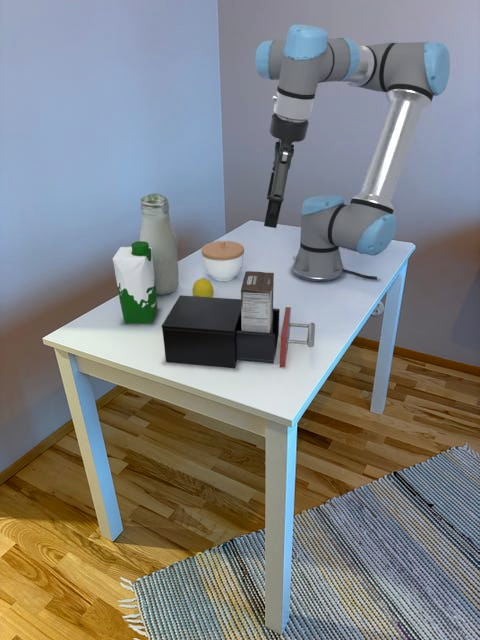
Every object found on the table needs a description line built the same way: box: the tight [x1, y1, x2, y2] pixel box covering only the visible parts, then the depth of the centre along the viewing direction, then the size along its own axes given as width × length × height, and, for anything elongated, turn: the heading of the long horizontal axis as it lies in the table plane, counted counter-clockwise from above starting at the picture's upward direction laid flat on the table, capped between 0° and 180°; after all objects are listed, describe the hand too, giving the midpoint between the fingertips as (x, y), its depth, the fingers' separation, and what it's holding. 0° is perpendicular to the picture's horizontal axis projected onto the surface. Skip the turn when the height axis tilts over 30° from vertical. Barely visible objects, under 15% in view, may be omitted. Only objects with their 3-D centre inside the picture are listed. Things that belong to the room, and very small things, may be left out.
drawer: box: [235, 306, 316, 369], centre depth 103 cm, size 20×13×8 cm, turn 81°
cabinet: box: [161, 294, 241, 369], centre depth 105 cm, size 16×14×10 cm
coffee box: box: [240, 270, 275, 333], centre depth 101 cm, size 9×6×16 cm
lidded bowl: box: [200, 240, 245, 282], centre depth 139 cm, size 13×13×11 cm
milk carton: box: [112, 240, 158, 324], centre depth 116 cm, size 9×9×20 cm
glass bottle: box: [138, 193, 180, 296], centre depth 126 cm, size 10×10×28 cm
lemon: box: [192, 277, 214, 298], centre depth 124 cm, size 6×6×8 cm
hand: (271, 212), depth 107 cm, fingers open, 13 cm apart
